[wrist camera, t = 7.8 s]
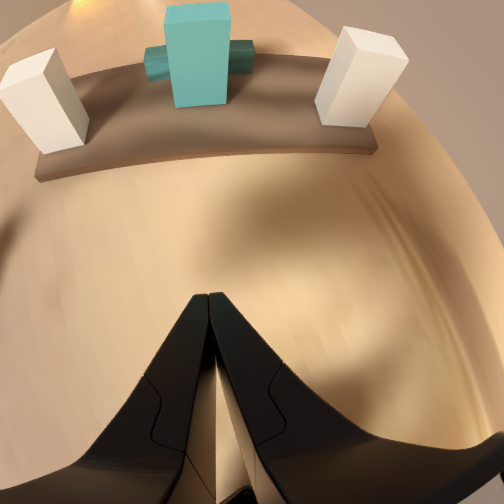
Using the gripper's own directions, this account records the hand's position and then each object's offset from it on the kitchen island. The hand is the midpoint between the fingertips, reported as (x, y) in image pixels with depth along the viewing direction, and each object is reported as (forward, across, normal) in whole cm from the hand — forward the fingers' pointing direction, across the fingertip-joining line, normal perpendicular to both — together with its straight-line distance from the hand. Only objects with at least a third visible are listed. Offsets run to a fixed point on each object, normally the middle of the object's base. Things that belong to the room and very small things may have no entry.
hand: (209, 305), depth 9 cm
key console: (+23, 0, -5) cm, 23 cm away
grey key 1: (+20, -12, -4) cm, 23 cm away
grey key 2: (+20, +12, -4) cm, 24 cm away
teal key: (+21, 0, -6) cm, 22 cm away
